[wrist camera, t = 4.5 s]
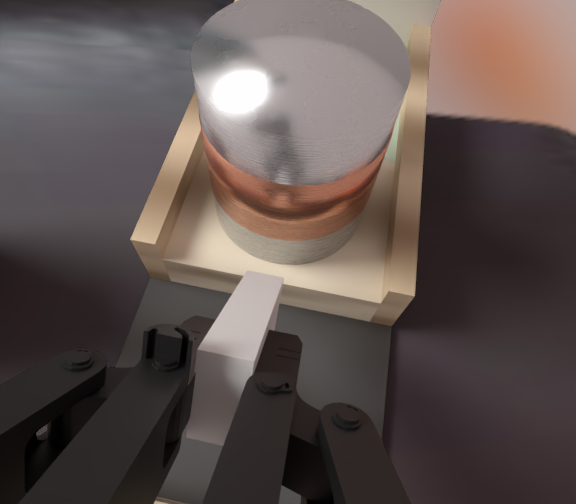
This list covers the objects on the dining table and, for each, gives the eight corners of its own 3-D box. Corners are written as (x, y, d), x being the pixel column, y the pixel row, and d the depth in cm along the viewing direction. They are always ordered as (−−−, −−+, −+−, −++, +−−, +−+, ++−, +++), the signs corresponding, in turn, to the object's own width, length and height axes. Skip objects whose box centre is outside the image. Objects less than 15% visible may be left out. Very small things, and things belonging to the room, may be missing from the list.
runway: (318, 1135, 12) (343, 1441, 8) (-127, 998, 13) (-299, 1222, 9) (411, 81, 33) (431, 26, 29) (240, 52, 34) (237, -6, 30)
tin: (209, 149, 25) (184, -6, 17) (345, 138, 26) (380, -15, 18) (220, 274, 21) (195, 149, 14) (379, 256, 22) (441, 129, 14)
